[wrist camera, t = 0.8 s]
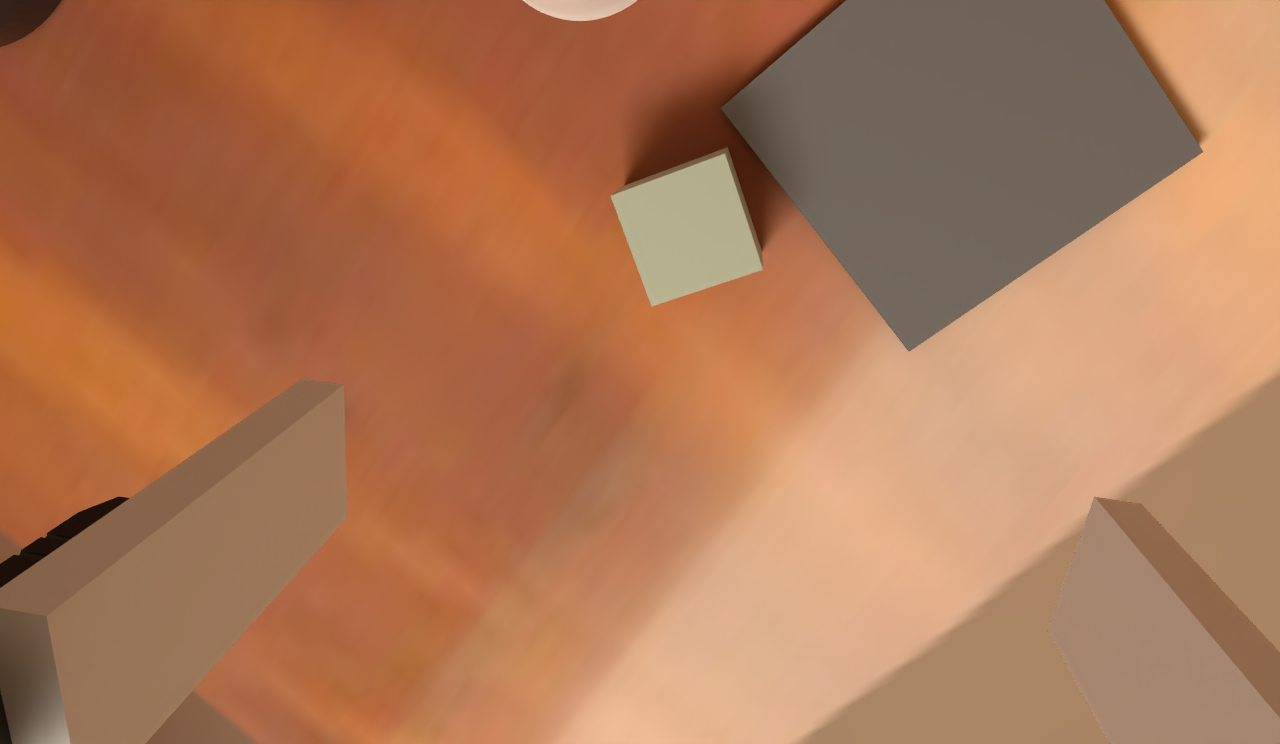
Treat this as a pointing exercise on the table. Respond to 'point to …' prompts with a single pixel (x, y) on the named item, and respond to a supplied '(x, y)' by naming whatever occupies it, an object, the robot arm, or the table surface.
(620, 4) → the mug
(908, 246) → the coaster
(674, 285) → the sage block
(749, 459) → the table surface
